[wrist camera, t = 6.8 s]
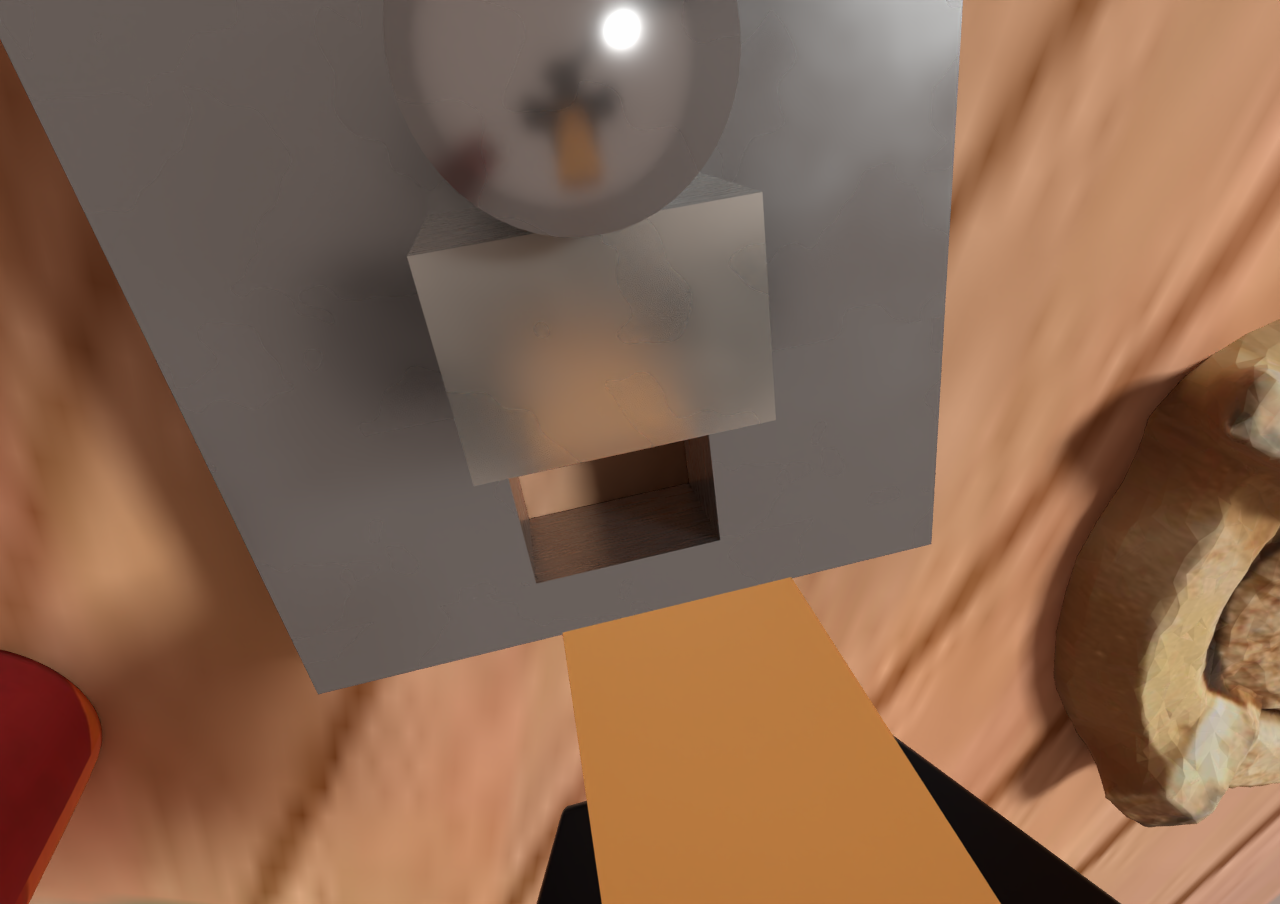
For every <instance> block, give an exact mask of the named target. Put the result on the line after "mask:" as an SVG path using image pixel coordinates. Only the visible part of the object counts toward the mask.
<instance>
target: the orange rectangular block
mask: <svg viewBox="0 0 1280 904" xmlns="http://www.w3.org/2000/svg"><path fill="white" fill-rule="evenodd" d="M563 639H564V646H565V653H566V660H567V667H568V674H569V681H570V688H571V694H572V701H573V708H574V715H575V722H576V729H577V736H578V743H579V750H580V756H581V763H582V770H583V777H584V784H585V791H586V798H587V805H588V812H589V818H590V825H591V832H592V839H593V846H594V853H595V860H596V867H597V874H598V880H599V887H600V894H601V901H602V904H1001V903H1000V902H999V900H998V899H997V897H996V895H995V894H994V892H993V891H992V889H991V888H990V886H989V885H988V883H987V881H986V880H985V878H984V877H983V875H982V874H981V872H980V871H979V869H978V867H977V866H976V864H975V863H974V861H973V860H972V858H971V856H970V855H969V853H968V852H967V850H966V849H965V847H964V846H963V844H962V842H961V841H960V839H959V838H958V836H957V835H956V833H955V832H954V830H953V828H952V827H951V825H950V824H949V822H948V821H947V819H946V818H945V816H944V814H943V813H942V811H941V810H940V808H939V807H938V805H937V804H936V802H935V800H934V799H933V797H932V796H931V794H930V793H929V791H928V790H927V788H926V786H925V785H924V783H923V782H922V780H921V779H920V777H919V776H918V774H917V772H916V771H915V769H914V768H913V766H912V765H911V763H910V762H909V760H908V758H907V757H906V755H905V754H904V752H903V751H902V749H901V748H900V746H899V744H898V743H897V741H896V740H895V738H894V737H893V735H892V734H891V732H890V730H889V729H888V727H887V726H886V724H885V723H884V721H883V720H882V718H881V716H880V715H879V713H878V712H877V710H876V709H875V707H874V706H873V704H872V702H871V701H870V699H869V698H868V696H867V695H866V693H865V692H864V690H863V688H862V687H861V685H860V684H859V682H858V681H857V679H856V677H855V676H854V674H853V673H852V671H851V670H850V668H849V667H848V665H847V663H846V662H845V660H844V659H843V657H842V656H841V654H840V653H839V651H838V649H837V648H836V646H835V645H834V643H833V642H832V640H831V639H830V637H829V635H828V634H827V632H826V631H825V629H824V628H823V626H822V625H821V623H820V621H819V620H818V618H817V617H816V615H815V614H814V612H813V611H812V609H811V607H810V606H809V604H808V603H807V601H806V600H805V598H804V597H803V595H802V593H801V592H800V590H799V589H798V587H797V586H796V584H795V583H794V581H793V579H792V578H791V577H789V578H785V579H781V580H777V581H773V582H769V583H765V584H761V585H756V586H752V587H748V588H744V589H740V590H736V591H732V592H728V593H723V594H719V595H715V596H711V597H707V598H703V599H699V600H695V601H691V602H686V603H682V604H678V605H674V606H670V607H666V608H662V609H658V610H654V611H649V612H645V613H641V614H637V615H633V616H629V617H625V618H621V619H617V620H612V621H608V622H604V623H600V624H596V625H592V626H588V627H584V628H579V629H575V630H571V631H567V632H563Z"/></svg>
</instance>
